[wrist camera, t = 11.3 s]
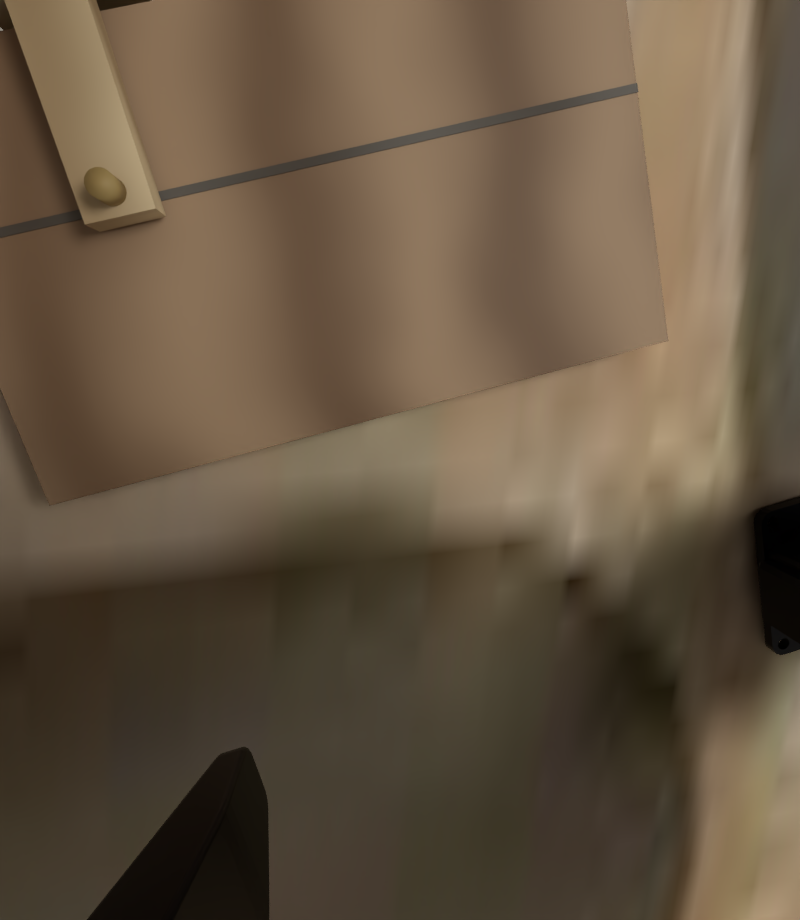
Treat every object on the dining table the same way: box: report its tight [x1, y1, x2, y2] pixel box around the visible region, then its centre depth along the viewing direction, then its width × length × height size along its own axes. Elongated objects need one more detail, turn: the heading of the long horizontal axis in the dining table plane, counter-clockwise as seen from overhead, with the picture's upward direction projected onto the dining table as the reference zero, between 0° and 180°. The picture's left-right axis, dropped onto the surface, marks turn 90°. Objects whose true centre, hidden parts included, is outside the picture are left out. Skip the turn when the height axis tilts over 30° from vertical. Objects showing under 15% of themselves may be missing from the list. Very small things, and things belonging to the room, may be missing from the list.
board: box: [0, 0, 668, 506], centre depth 17 cm, size 20×12×2 cm, turn 104°
